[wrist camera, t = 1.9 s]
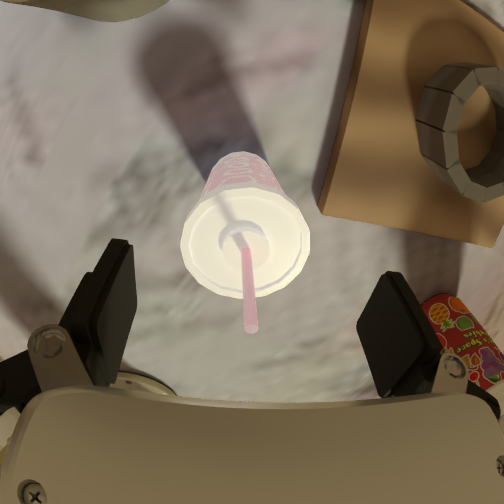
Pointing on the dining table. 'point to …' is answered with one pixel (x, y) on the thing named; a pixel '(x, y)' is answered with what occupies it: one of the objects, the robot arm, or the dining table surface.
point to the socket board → (389, 122)
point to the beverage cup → (244, 234)
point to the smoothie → (467, 343)
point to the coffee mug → (97, 7)
